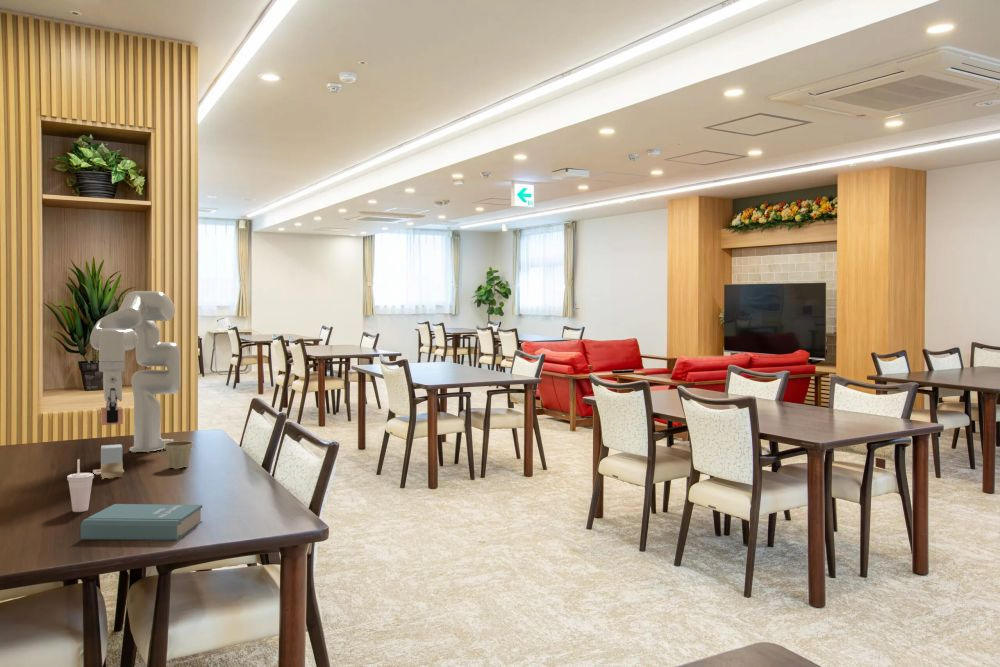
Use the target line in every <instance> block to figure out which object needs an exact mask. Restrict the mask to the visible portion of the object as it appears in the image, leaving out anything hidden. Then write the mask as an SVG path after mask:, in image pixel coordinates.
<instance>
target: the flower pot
mask: <svg viewBox="0 0 1000 667" xmlns="http://www.w3.org/2000/svg"><path fill="white" fill-rule="evenodd" d="M193 444H194V442H193V441H189V440H178V441H177V440H176V441H175V440H174V442H168V443H165V444H164V446H165V449H164V450H165V452H166V456H167V462H168V464H167V465H168V468H169V467H170V468H178V467H184V466H188V467H189V463H190V456H191V449H192V447H193ZM170 468H169V469H170Z"/></svg>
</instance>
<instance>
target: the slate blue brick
mask: <svg viewBox="0 0 1000 667" xmlns="http://www.w3.org/2000/svg"><path fill="white" fill-rule="evenodd" d="M120 462H123V445H122V444H107V445H106V444H105V445H101V446H100V464H101V463H102V464H107V463H120Z"/></svg>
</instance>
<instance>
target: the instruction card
mask: <svg viewBox="0 0 1000 667" xmlns="http://www.w3.org/2000/svg"><path fill="white" fill-rule="evenodd" d="M92 473H94V474H96V475H101V468H99V469H92ZM123 473H125V470H124V469H123Z"/></svg>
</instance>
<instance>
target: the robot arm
mask: <svg viewBox="0 0 1000 667" xmlns="http://www.w3.org/2000/svg"><path fill="white" fill-rule="evenodd" d="M175 310H176V308H175V303H174V302H173V301H172V299H171V298H170V297H169V296H168V295H167V294H165V293H164V292H161V291H154V290H153V291H152V290H150V291H148V290H133V291H130V292H128V293H127V294H126V295H125V297H124V299H123V301H122V302H121V305H120V306H119V308H118V310H116V311H114V312H112V313H109V314H107V315H105V316H103V317H101V318H100V319H99V320H97V321H96V323H95V325H94V326H93V328H92V331H91V333H90V336H89V343H90V345H91V347H92V348H93V349H94V350H96V351H97V350H98V361H99V362H98V372H102V388H103V398H104V401H106V403H105V407H108V411H107V423H117V422H118V410H117V407H118V401H119V402H122V401H123V380H122V378H123V376H122V372H125V370H126V366H125V365H126V360H125V359H126V351H132V350H134V349H135V360H136V363H137V365H139V366H142V367H165V368H166V369H142V370H137V371H135V372H134V373H133V374H132V376H131V380H130V381H131V387H132V393H133V446H130V447H129V452H130V451H131V453H136V452H147V453H150V452H149V451H156V450H160V449H163V448H165V446H164V444H165V443H168V442H174V441H175V440H174V439H173V438H171V439H169V438H167V439H164V438H162V436H161V434H162V432H161V431H162V430H161V429H162V426H161V425H162V424H161V423H162V421H161V420H162V406H161V403H160V401H159V400H158V398H157V396H155V395H173V394H174V395H175V394H177V393H178V392H179V391H180V389H181V380H182V379H181V378H182V376H181V375H182V374H181V373H182V372H181V371H182V370H181V362H182V361H181V360H182V359H181V350H180V347H179V344H177V343H175V342H171V341H169V342H168V341H167V342H164V341H163V342H162V341H161V338H160V333H161V332H160V328H159V326H158V324H157V323H156V321H157V322H169V321H171V320H172V319H173V318H174V316H175Z"/></svg>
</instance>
